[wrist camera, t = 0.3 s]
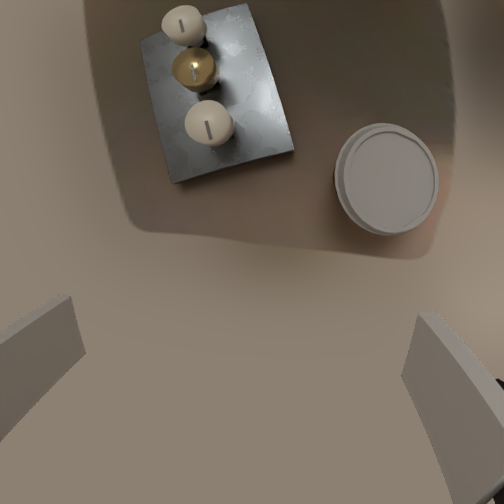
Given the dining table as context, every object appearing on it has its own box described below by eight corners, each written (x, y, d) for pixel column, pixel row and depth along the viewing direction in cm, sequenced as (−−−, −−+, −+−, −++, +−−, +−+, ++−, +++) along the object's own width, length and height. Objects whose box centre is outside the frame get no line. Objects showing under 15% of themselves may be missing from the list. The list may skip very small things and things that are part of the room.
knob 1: (177, 35, 27) (158, 14, 21) (209, 24, 26) (195, -1, 20) (183, 60, 28) (164, 40, 22) (216, 49, 27) (203, 26, 21)
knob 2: (199, 120, 29) (180, 108, 23) (233, 109, 29) (222, 94, 23) (207, 153, 30) (190, 148, 24) (243, 143, 30) (233, 135, 24)
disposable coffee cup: (321, 220, 34) (340, 241, 22) (316, 139, 32) (332, 119, 20) (396, 216, 33) (443, 236, 21) (392, 139, 30) (439, 124, 19)
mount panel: (149, 48, 30) (139, 40, 27) (249, 14, 28) (246, 2, 25) (180, 183, 35) (171, 184, 32) (293, 151, 32) (294, 149, 29)
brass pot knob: (187, 74, 28) (167, 56, 22) (220, 63, 27) (207, 41, 22) (194, 104, 29) (175, 89, 23) (229, 93, 28) (217, 75, 22)
